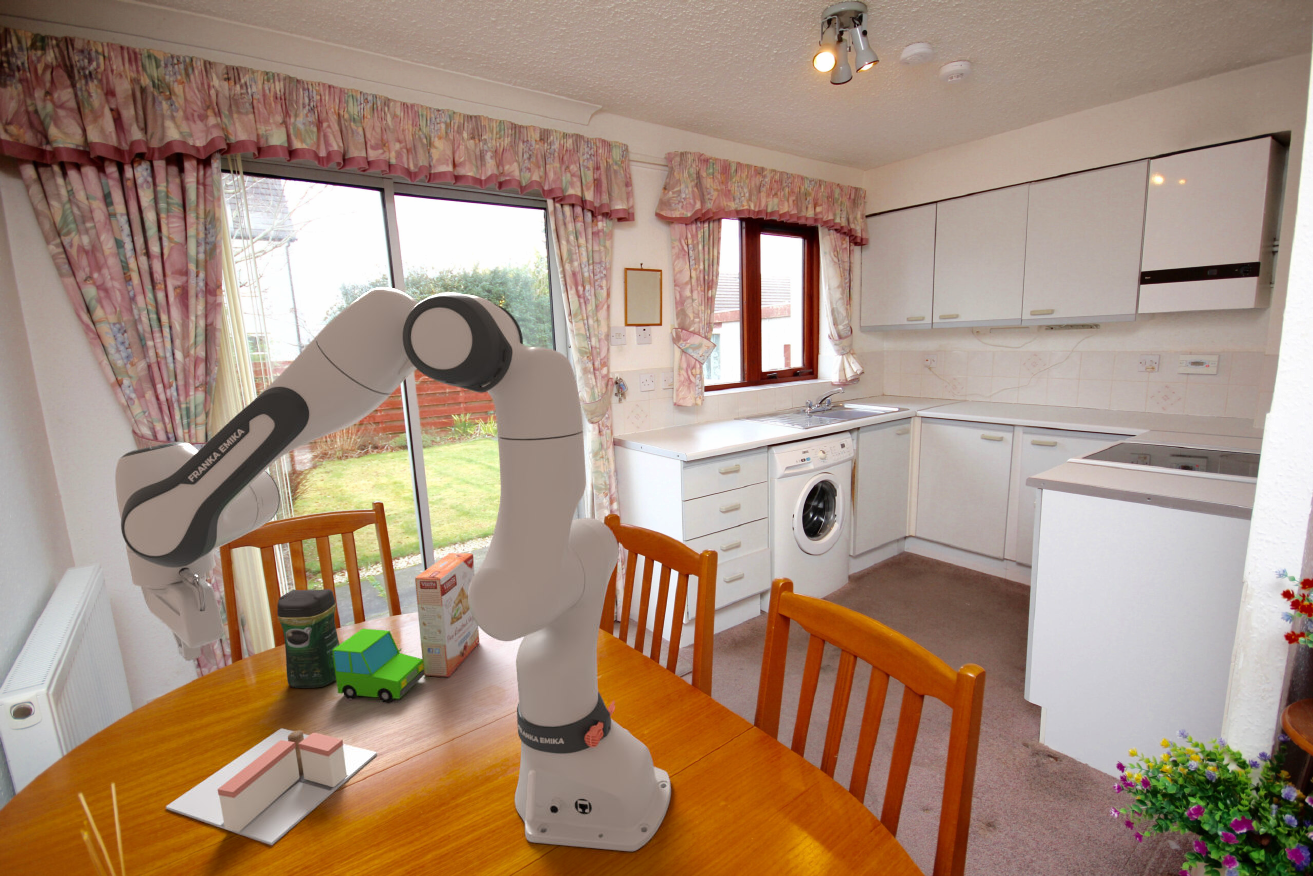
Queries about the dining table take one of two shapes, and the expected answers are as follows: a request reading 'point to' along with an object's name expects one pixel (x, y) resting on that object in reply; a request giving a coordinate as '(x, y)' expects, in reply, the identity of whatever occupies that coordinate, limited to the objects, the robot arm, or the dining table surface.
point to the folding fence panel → (258, 785)
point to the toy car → (374, 666)
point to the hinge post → (297, 747)
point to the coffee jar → (309, 636)
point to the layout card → (281, 811)
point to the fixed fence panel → (323, 759)
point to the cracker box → (446, 614)
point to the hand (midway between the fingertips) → (190, 656)
